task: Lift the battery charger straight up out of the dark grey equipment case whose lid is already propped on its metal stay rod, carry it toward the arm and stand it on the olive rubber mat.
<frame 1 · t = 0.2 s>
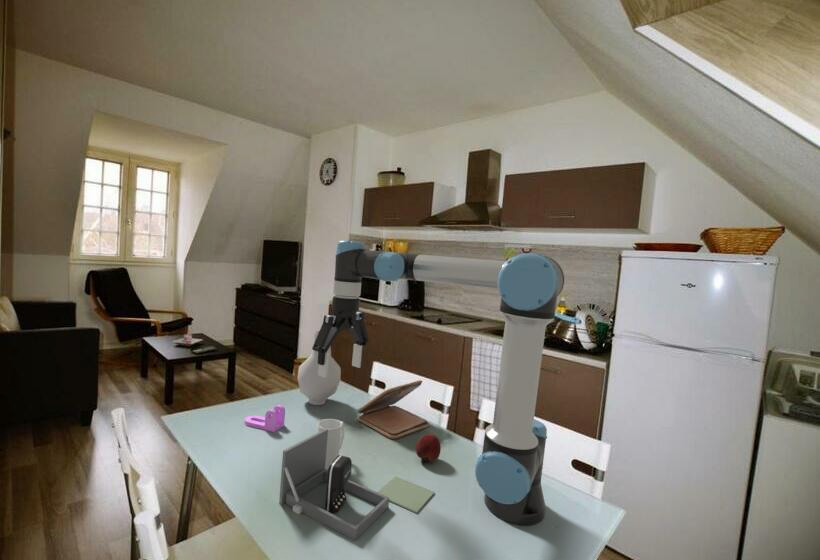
hand: (340, 371, 112), 27 cm above the table, fingers open, 13 cm apart
mug: (330, 462, 115), on the table
bracket: (262, 425, 134), on the table
vase: (317, 402, 158), on the table
apple: (427, 460, 121), on the table
mat: (405, 494, 103), on the table
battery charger: (337, 506, 96), resting in case
case: (337, 505, 96), on the table
case 2: (392, 423, 146), on the table
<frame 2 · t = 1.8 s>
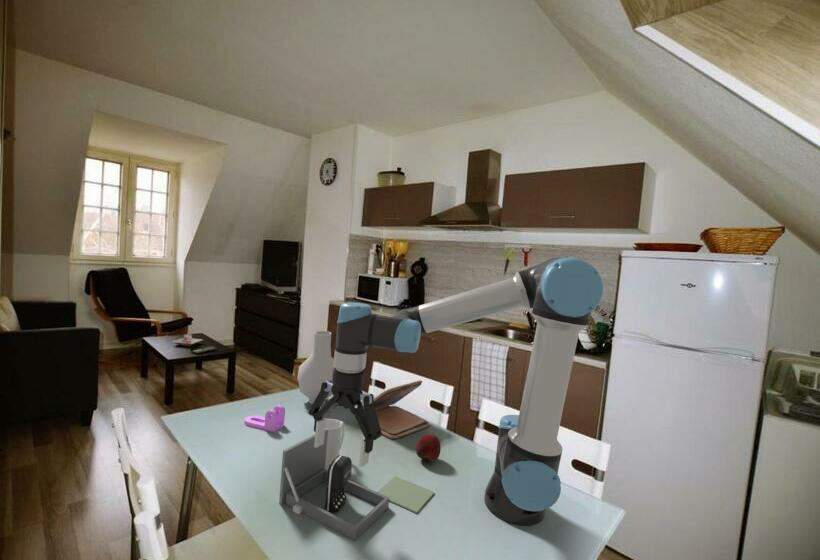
hand: (340, 454, 95), 13 cm above the table, fingers open, 13 cm apart
nothing on the table moved.
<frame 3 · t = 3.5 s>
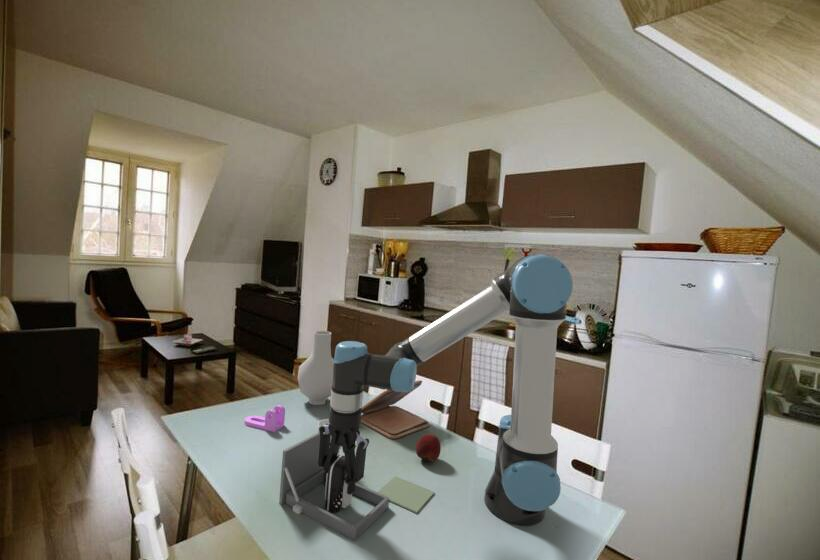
hand: (337, 500, 96), 1 cm above the table, fingers closed on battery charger, 5 cm apart
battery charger: (337, 506, 96), resting in case, touching gripper
everything else where it was.
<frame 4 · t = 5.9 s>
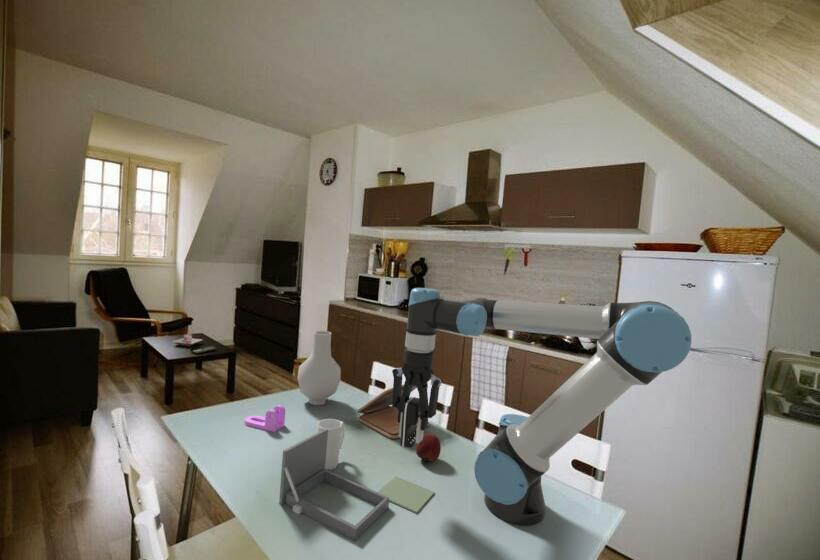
hand: (410, 438, 102), 15 cm above the table, fingers closed on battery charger, 4 cm apart
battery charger: (411, 444, 102), point 14 cm above the table, touching gripper
everything else where it was.
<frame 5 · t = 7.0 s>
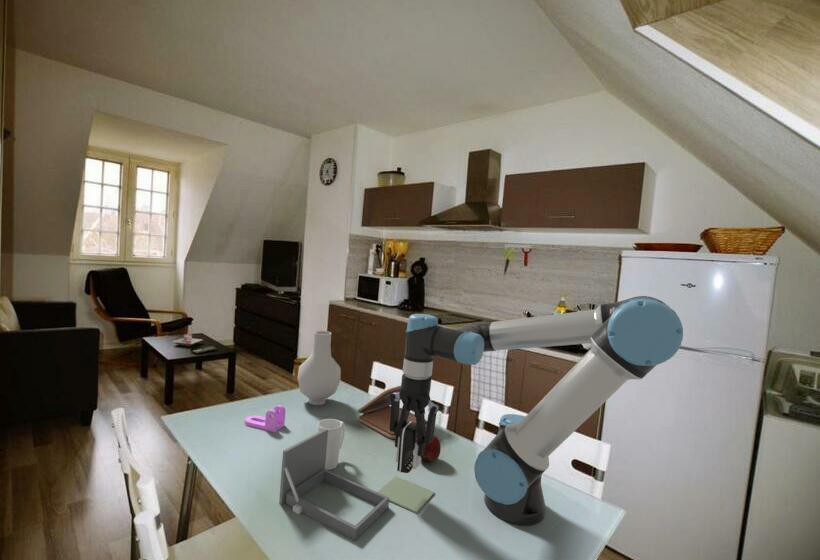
hand: (407, 462, 102), 8 cm above the table, fingers closed on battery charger, 4 cm apart
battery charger: (408, 468, 103), point 7 cm above the table, touching gripper
everything else where it was.
when the fingers open (3 cm above the table, at t = 8.2 s): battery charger drops 1 cm, resting on mat.
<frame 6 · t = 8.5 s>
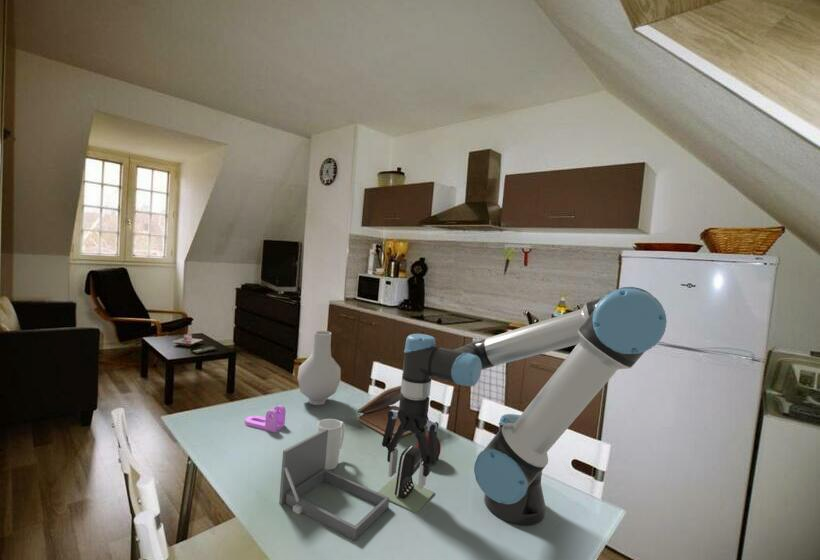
hand: (406, 480, 103), 4 cm above the table, fingers open, 8 cm apart
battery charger: (405, 493, 103), resting on mat
everything else where it was.
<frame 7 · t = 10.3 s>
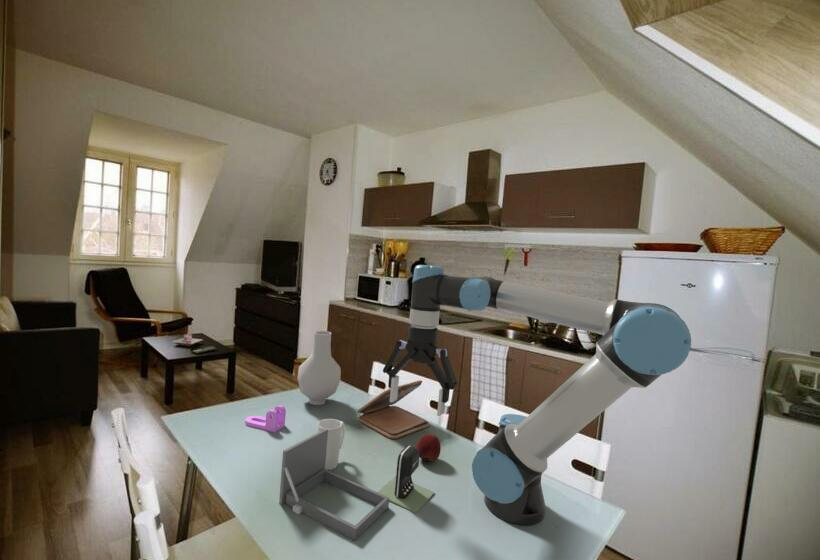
hand: (416, 407, 102), 23 cm above the table, fingers open, 13 cm apart
nothing on the table moved.
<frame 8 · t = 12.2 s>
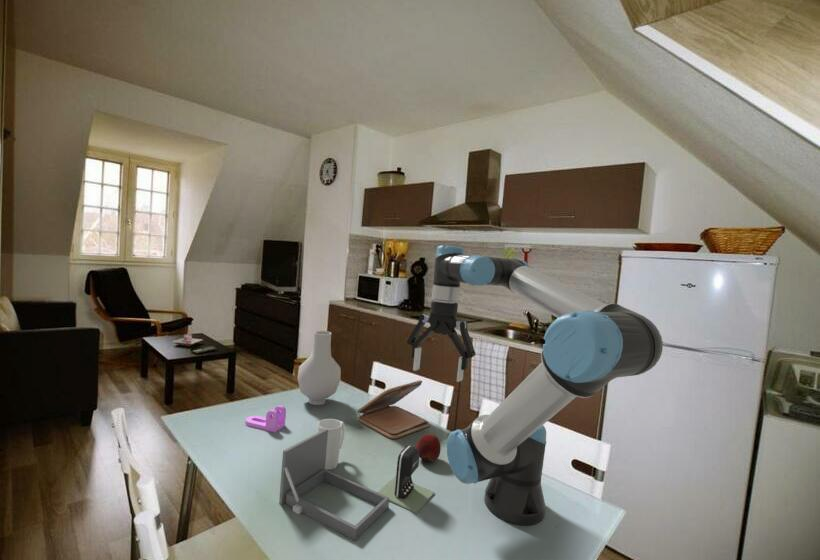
hand: (437, 375, 112), 29 cm above the table, fingers open, 13 cm apart
nothing on the table moved.
at the end: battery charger inside the target area on the mat (0.1 cm from its centre), point 0.2 cm above the mat's base; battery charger tilted 0°; the gripper is holding nothing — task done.
